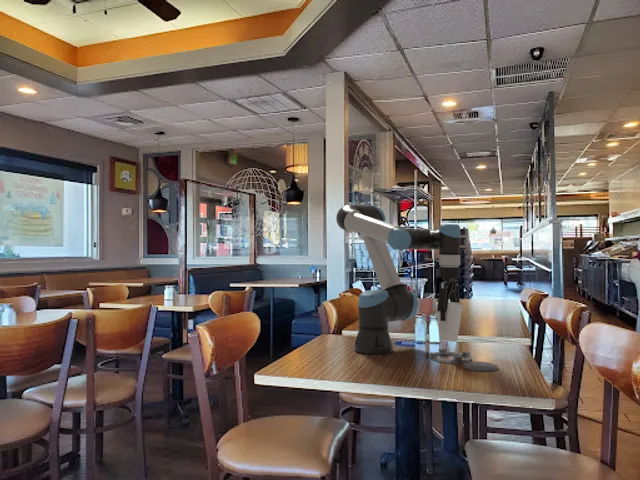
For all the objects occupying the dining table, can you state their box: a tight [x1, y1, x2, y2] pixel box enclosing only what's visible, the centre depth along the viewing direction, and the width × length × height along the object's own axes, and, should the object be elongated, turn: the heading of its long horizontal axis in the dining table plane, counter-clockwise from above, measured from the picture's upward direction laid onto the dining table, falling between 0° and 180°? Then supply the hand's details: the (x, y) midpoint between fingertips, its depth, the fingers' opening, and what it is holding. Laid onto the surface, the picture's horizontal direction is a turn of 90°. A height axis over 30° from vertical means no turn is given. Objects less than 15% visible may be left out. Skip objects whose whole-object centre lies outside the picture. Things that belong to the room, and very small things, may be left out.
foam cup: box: [435, 301, 463, 342], centre depth 178 cm, size 10×9×13 cm
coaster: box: [462, 360, 499, 373], centre depth 164 cm, size 11×11×1 cm
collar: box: [428, 348, 472, 364], centre depth 178 cm, size 14×14×2 cm
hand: (448, 327), depth 178 cm, fingers closed on foam cup, 9 cm apart
